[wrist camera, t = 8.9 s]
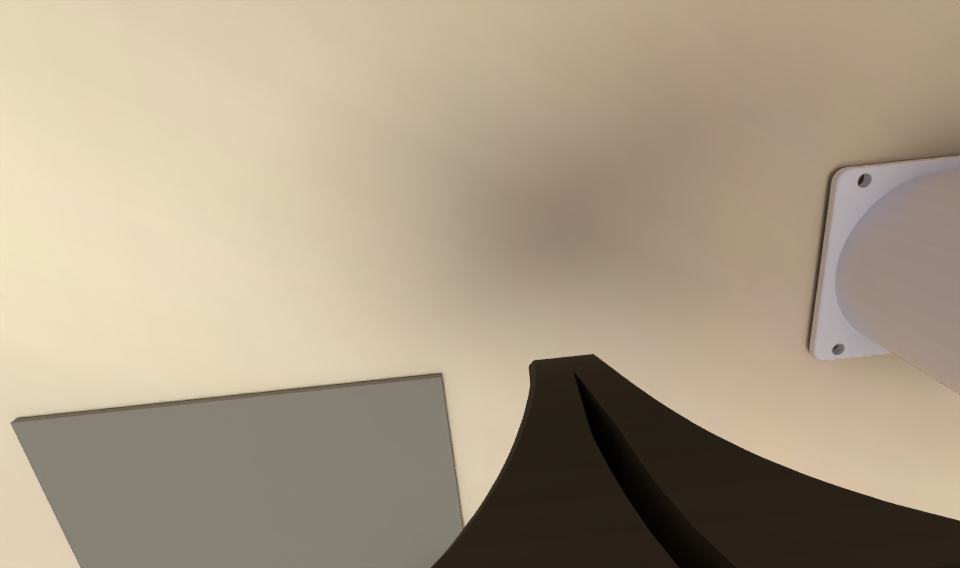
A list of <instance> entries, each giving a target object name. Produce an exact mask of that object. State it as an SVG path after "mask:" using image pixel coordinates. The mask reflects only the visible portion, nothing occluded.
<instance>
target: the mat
mask: <svg viewBox="0 0 960 568" xmlns="http://www.w3.org/2000/svg"><path fill="white" fill-rule="evenodd" d="M11 425H12V427H13V429H14V431H15V433H16V435H17V437H18V440H19V442H20V444H21V446H22V448H23V450H24V452H25V454H26V456H27V458H28V460H29V462H30V464H31V466H32V468H33V471H34V473H35V475H36V477H37V479H38V481H39V483H40V485H41V487H42V489H43V491H44V493H45V495H46V497H47V499H48V501H49V504H50V506H51V508H52V510H53V512H54V514H55V516H56V518H57V520H58V522H59V524H60V526H61V528H62V530H63V532H64V534H65V537H66V539H67V541H68V543H69V545H70V547H71V549H72V551H73V553H74V555H75V557H76V559H77V561H78V563H79V565H80V567H81V568H431V567H432V566H433V564H434V563H435V562H436V561H437V560H438V559H439V558H440V557H441V556H442V555H443V554H444V553H445V551H446V550H447V549H448V548H449V547H450V546H451V544H452V543H453V542H454V540H455V539H456V538H457V537H458V535H459V534H460V533H461V531H462V530H463V523H462V515H461V508H460V501H459V494H458V487H457V480H456V473H455V466H454V459H453V452H452V445H451V438H450V431H449V424H448V417H447V410H446V403H445V395H444V388H443V381H442V374H433V375H424V376H414V377H405V378H395V379H386V380H377V381H367V382H358V383H348V384H339V385H329V386H320V387H311V388H301V389H292V390H282V391H273V392H263V393H254V394H245V395H235V396H226V397H216V398H207V399H197V400H188V401H179V402H169V403H160V404H150V405H141V406H131V407H122V408H113V409H103V410H94V411H84V412H75V413H66V414H56V415H47V416H37V417H28V418H18V419H15V420H14V421H12V422H11Z"/></svg>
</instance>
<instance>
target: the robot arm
mask: <svg viewBox="0 0 960 568" xmlns="http://www.w3.org/2000/svg"><path fill="white" fill-rule="evenodd" d="M863 174H864V180H863V182H862V183H861V184H860V185H858V183H857V181H858V179H859V177H860V176H861V175H863ZM837 344H838V347H837V348H836V349H835V350H832V349H833V347H834V346H835V345H837ZM809 350H810V353H811V355H812V356H813V357H815V358H816V359H818V360H820V361H827V360H836V359H846V358H855V357H865V356H874V355H883V354H894V355H896V356H898V357H899V358H901V359H902V360H904V361H906V362H907V363H909V364H910V365H912V366H914V367H915V368H917V369H919V370H920V371H922V372H923V373H925V374H927V375H928V376H930V377H932V378H933V379H935V380H936V381H938V382H940V383H941V384H943V385H944V386H946V387H948V388H949V389H951V390H953V391H954V392H956V393H957V394H959V395H960V155H956V156H946V157H937V158H927V159H918V160H909V161H899V162H890V163H880V164H871V165H861V166H852V167H845V168H842V169H840V170H839V171H837V172H836V174H835V175H834V176H833V179H832V182H831V189H830V197H829V204H828V212H827V219H826V227H825V234H824V242H823V249H822V257H821V264H820V272H819V279H818V287H817V294H816V302H815V309H814V317H813V324H812V332H811V339H810V347H809ZM529 375H530V390H529V396H528V400H527V404H526V408H525V412H524V416H523V419H522V422H521V425H520V428H519V430H518V433H517V436H516V439H515V442H514V444H513V446H512V449H511V451H510V453H509V456H508V458H507V460H506V462H505V464H504V466H503V468H502V470H501V472H500V474H499V476H498V477H497V479H496V481H495V483H494V484H493V486H492V488H491V489H490V491H489V493H488V494H487V496H486V498H485V499H484V501H483V502H482V504H481V506H480V507H479V509H478V510H477V511H476V513H475V514H474V516H473V517H472V518H471V520H470V521H469V522H468V523H467V525H466V526H465V527H464V529H463V530H462V531H461V533H460V534H459V535H458V537H457V538H456V539H455V540H454V542H453V543H452V544H451V546H450V547H449V548H448V549H447V550H446V551H445V553H444V554H443V555H442V556H441V557H440V558H439V559H438V560H437V561H436V562H435V563H434V564H433V566H432V567H431V568H960V521H959V520H955V519H951V518H947V517H943V516H939V515H935V514H931V513H927V512H924V511H920V510H916V509H912V508H908V507H904V506H900V505H896V504H893V503H889V502H886V501H882V500H879V499H876V498H873V497H870V496H867V495H864V494H860V493H857V492H854V491H851V490H848V489H845V488H842V487H838V486H835V485H833V484H830V483H827V482H824V481H821V480H819V479H816V478H813V477H810V476H807V475H805V474H802V473H800V472H797V471H795V470H792V469H790V468H787V467H785V466H782V465H780V464H777V463H775V462H772V461H770V460H767V459H765V458H763V457H760V456H758V455H756V454H754V453H751V452H749V451H747V450H745V449H743V448H741V447H739V446H737V445H735V444H733V443H731V442H728V441H726V440H724V439H722V438H720V437H718V436H716V435H714V434H712V433H710V432H709V431H707V430H705V429H703V428H701V427H700V426H698V425H696V424H694V423H693V422H691V421H689V420H688V419H686V418H684V417H683V416H681V415H679V414H678V413H676V412H674V411H673V410H671V409H669V408H668V407H666V406H665V405H663V404H662V403H660V402H659V401H657V400H656V399H654V398H653V397H651V396H650V395H648V394H647V393H645V392H644V391H642V390H641V389H640V388H638V387H637V386H635V385H634V384H633V383H631V382H630V381H629V380H627V379H626V378H624V377H623V376H622V375H620V374H619V373H618V372H616V371H615V370H614V369H613V368H611V367H610V366H609V365H607V364H606V363H605V362H603V361H602V360H601V359H599V358H598V357H596V356H595V355H594V354H590V355H581V356H571V357H562V358H553V359H543V360H534V361H533V362H532V363H531V364H530V365H529Z"/></svg>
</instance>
